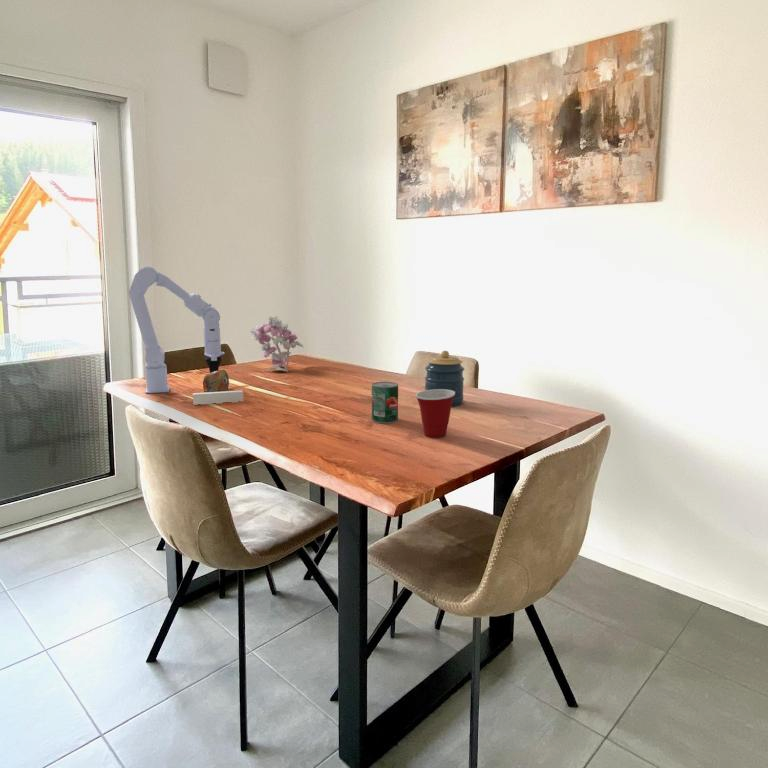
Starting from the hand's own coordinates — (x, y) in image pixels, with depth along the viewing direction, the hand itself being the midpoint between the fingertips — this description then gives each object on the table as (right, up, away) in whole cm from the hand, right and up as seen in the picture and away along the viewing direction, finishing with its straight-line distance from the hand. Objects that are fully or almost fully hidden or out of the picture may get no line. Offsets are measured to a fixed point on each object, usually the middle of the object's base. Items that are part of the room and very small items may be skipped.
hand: (214, 377), depth 226 cm
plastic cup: (+77, -17, -60) cm, 99 cm away
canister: (+83, -9, -22) cm, 86 cm away
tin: (+4, -7, -12) cm, 14 cm away
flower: (+17, +4, +40) cm, 43 cm away
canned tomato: (+63, -14, -44) cm, 79 cm away
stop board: (+8, -9, -23) cm, 26 cm away
